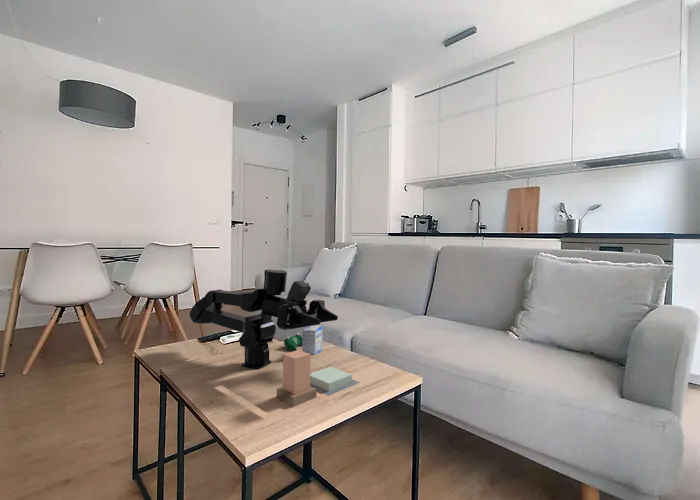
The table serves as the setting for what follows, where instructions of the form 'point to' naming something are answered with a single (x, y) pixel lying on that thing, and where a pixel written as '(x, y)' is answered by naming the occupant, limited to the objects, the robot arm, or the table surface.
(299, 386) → the terracotta brick
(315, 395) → the walnut stand
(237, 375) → the table surface
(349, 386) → the baseplate
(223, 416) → the table surface
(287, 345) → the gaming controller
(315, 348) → the medicine box
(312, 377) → the foundation slab
